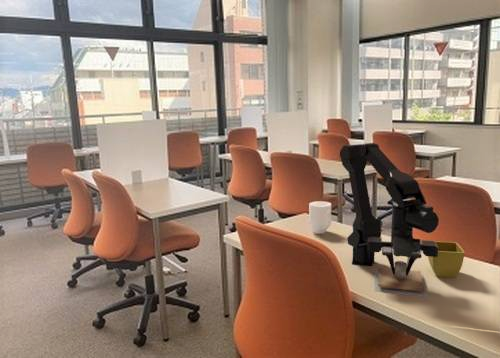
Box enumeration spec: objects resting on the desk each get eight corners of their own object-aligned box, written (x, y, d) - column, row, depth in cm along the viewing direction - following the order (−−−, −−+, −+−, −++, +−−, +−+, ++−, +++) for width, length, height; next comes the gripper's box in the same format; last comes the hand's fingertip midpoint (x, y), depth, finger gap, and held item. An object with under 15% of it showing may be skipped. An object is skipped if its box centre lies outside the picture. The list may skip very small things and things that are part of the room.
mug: (304, 230, 171) (305, 202, 169) (322, 228, 175) (323, 200, 173) (320, 238, 161) (321, 208, 158) (338, 235, 164) (340, 206, 162)
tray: (374, 291, 116) (374, 290, 116) (374, 271, 129) (374, 271, 129) (428, 297, 111) (428, 296, 111) (423, 276, 125) (423, 275, 125)
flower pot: (463, 281, 120) (465, 252, 119) (431, 279, 122) (433, 250, 121) (454, 269, 129) (456, 242, 127) (425, 267, 131) (426, 240, 129)
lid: (378, 286, 116) (378, 269, 115) (378, 270, 127) (378, 254, 126) (424, 291, 112) (425, 273, 111) (420, 273, 124) (421, 257, 123)
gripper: (367, 229, 112) (365, 283, 115) (442, 233, 106) (439, 290, 109) (368, 217, 122) (367, 267, 125) (436, 221, 117) (433, 273, 120)
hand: (400, 274), depth 119 cm, fingers closed on lid, 3 cm apart
